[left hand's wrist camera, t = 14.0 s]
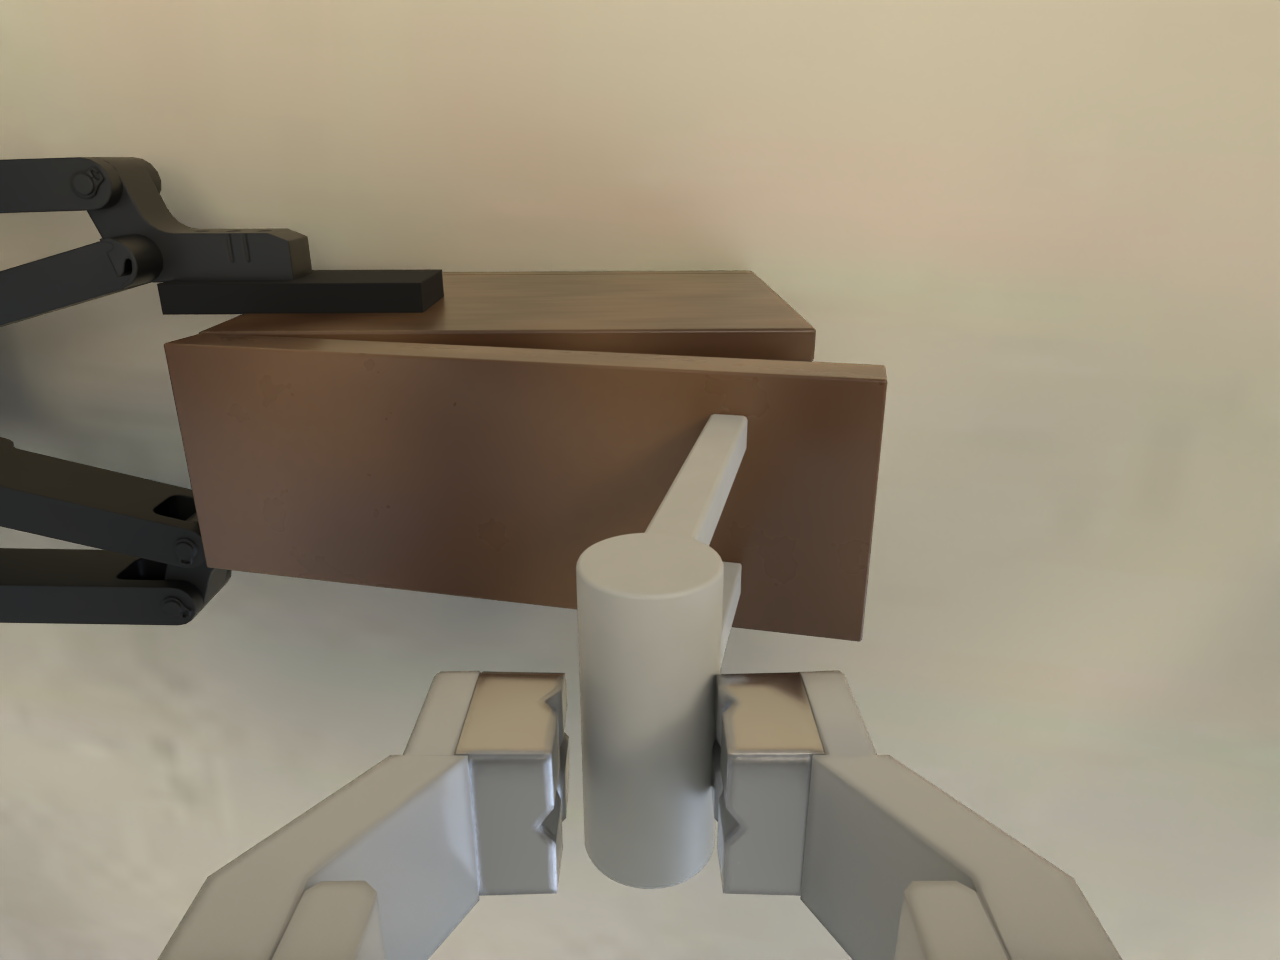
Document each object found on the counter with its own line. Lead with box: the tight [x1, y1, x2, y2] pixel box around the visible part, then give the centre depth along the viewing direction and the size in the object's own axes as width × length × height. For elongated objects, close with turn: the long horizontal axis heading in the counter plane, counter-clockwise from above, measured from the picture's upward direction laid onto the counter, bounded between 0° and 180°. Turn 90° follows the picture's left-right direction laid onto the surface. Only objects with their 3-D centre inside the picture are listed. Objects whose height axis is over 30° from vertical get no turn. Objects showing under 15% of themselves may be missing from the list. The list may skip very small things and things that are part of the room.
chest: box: [199, 271, 816, 362], centre depth 26 cm, size 14×5×11 cm, turn 90°
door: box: [164, 333, 887, 889], centre depth 15 cm, size 15×5×9 cm, turn 90°
